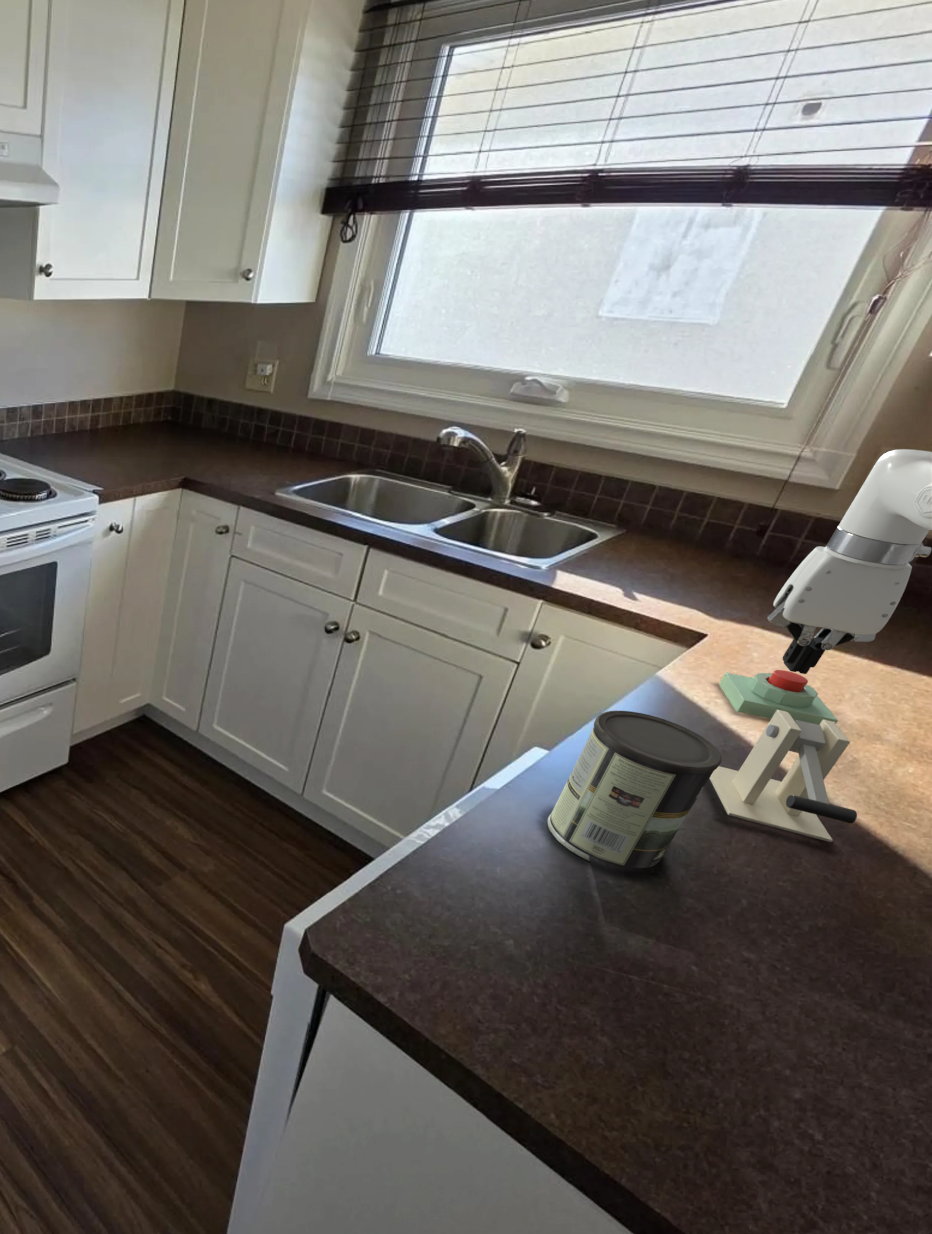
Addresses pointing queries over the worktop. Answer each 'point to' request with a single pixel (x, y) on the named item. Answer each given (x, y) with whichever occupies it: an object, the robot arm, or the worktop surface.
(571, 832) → the coffee can
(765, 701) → the button box
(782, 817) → the bracket
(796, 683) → the button
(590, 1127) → the worktop surface
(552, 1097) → the worktop surface
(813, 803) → the lever
